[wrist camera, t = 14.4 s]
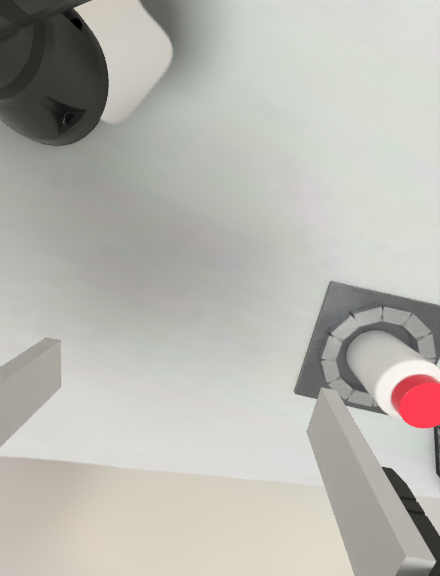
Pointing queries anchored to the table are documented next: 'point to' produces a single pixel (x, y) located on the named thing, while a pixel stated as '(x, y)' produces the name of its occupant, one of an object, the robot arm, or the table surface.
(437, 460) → the small box
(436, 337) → the ring seat
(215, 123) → the table surface
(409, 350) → the pill bottle
